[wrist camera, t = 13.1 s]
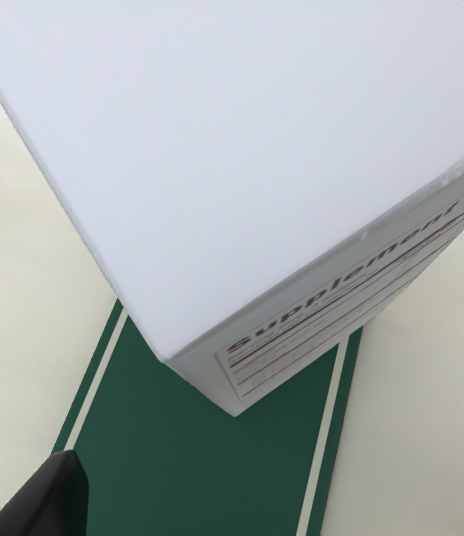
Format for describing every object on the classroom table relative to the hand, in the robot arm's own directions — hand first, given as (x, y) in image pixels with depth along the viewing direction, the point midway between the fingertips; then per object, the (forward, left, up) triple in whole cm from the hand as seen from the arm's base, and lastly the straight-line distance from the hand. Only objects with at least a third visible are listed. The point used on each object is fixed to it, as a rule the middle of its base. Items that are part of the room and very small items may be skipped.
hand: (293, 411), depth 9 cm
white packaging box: (+5, +2, -8) cm, 9 cm away
